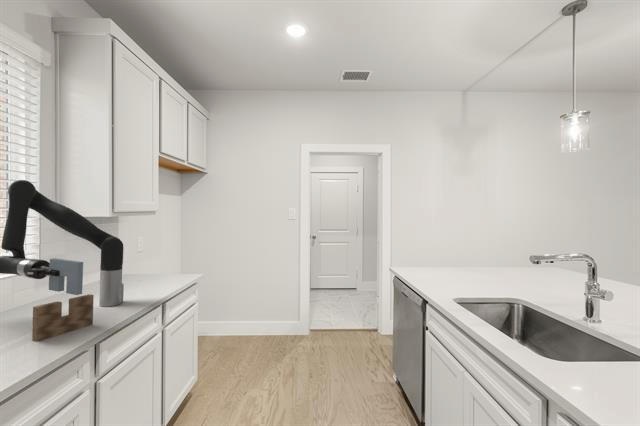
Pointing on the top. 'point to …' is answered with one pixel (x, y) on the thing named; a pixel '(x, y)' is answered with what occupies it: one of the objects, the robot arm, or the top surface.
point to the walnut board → (61, 317)
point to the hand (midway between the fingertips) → (62, 273)
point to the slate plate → (71, 271)
